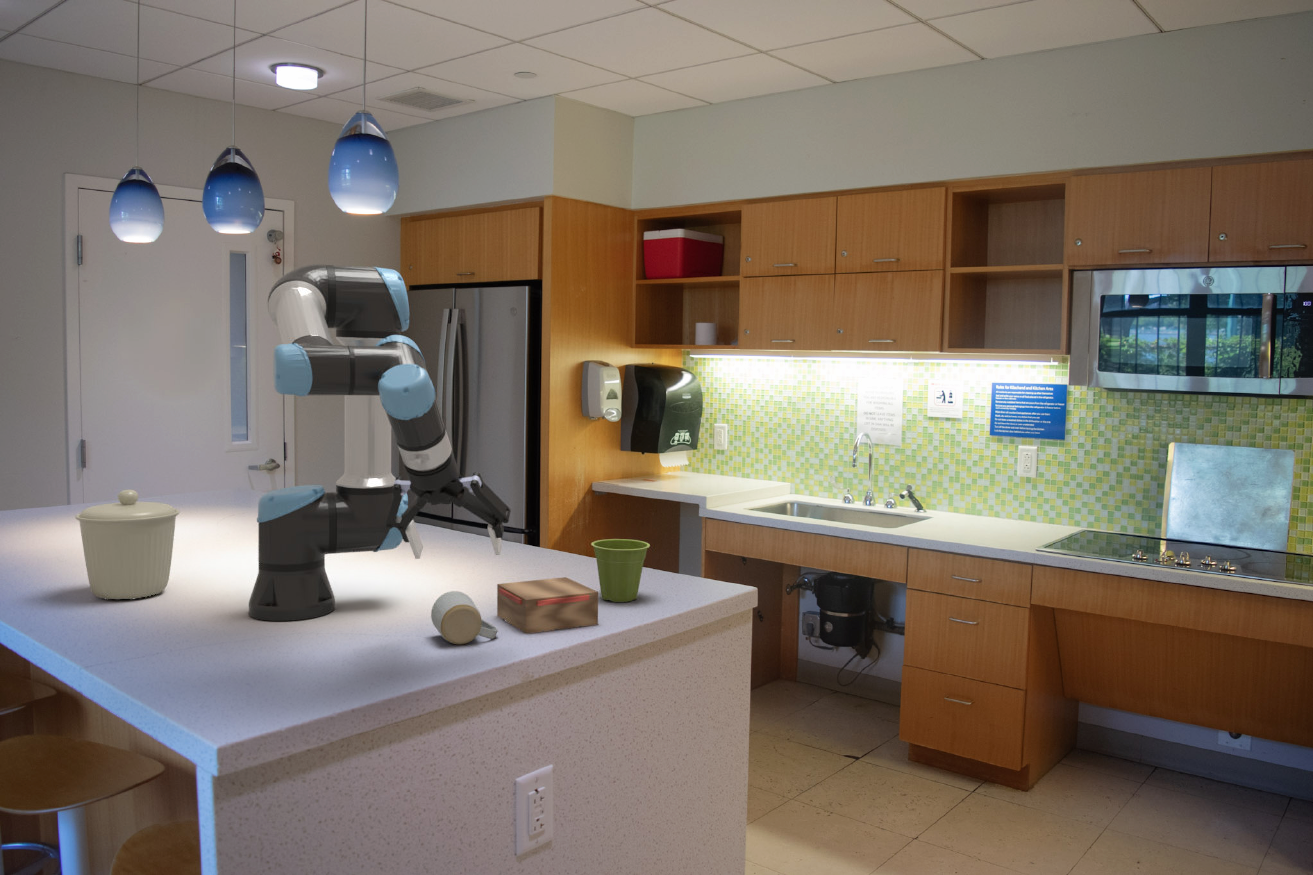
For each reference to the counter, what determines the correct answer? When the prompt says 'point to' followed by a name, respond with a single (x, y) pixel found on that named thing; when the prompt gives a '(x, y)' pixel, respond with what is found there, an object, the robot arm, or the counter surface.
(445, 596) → the ceramic mug
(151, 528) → the canister
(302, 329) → the robot arm
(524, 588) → the wooden box
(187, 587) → the counter surface
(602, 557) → the plant pot
